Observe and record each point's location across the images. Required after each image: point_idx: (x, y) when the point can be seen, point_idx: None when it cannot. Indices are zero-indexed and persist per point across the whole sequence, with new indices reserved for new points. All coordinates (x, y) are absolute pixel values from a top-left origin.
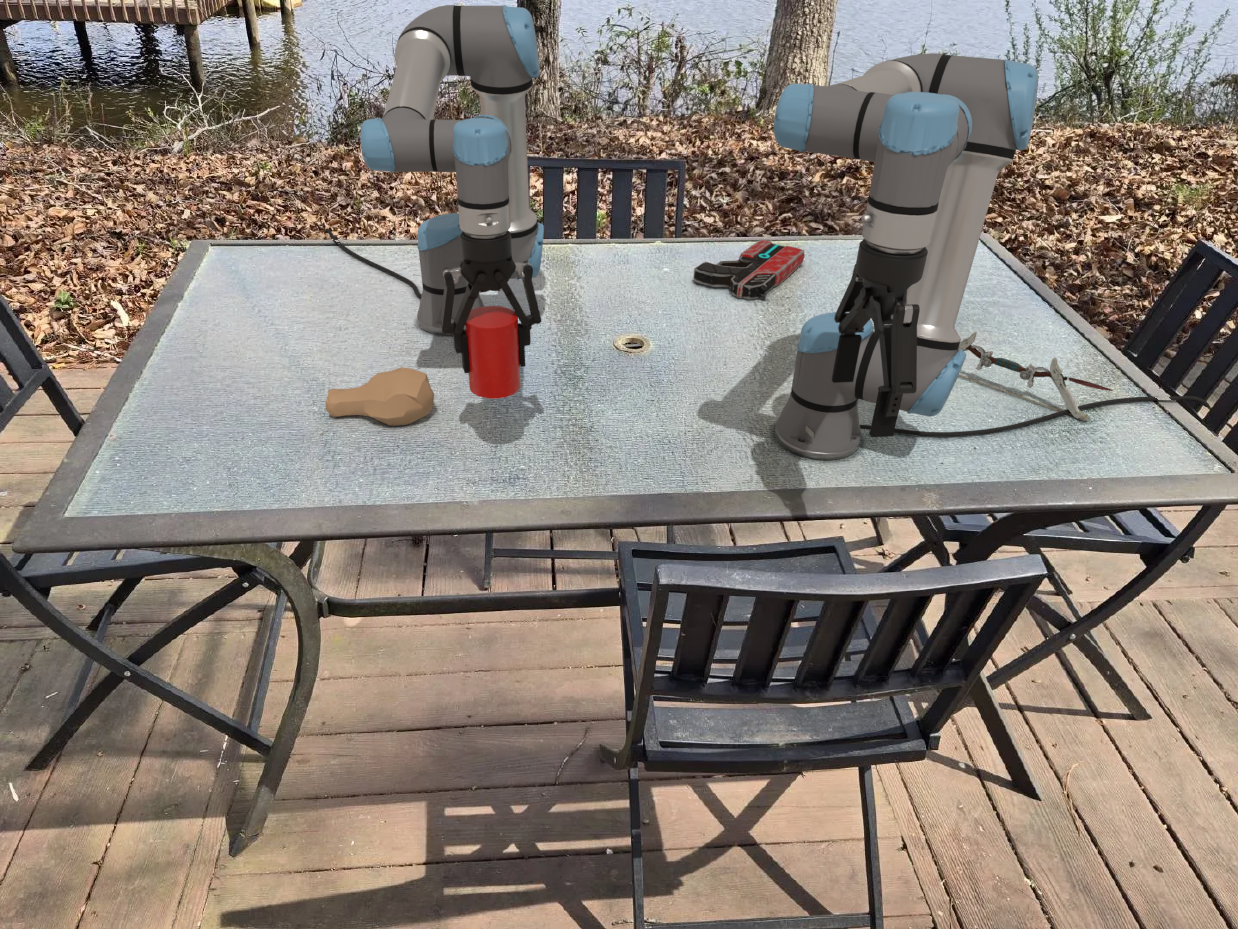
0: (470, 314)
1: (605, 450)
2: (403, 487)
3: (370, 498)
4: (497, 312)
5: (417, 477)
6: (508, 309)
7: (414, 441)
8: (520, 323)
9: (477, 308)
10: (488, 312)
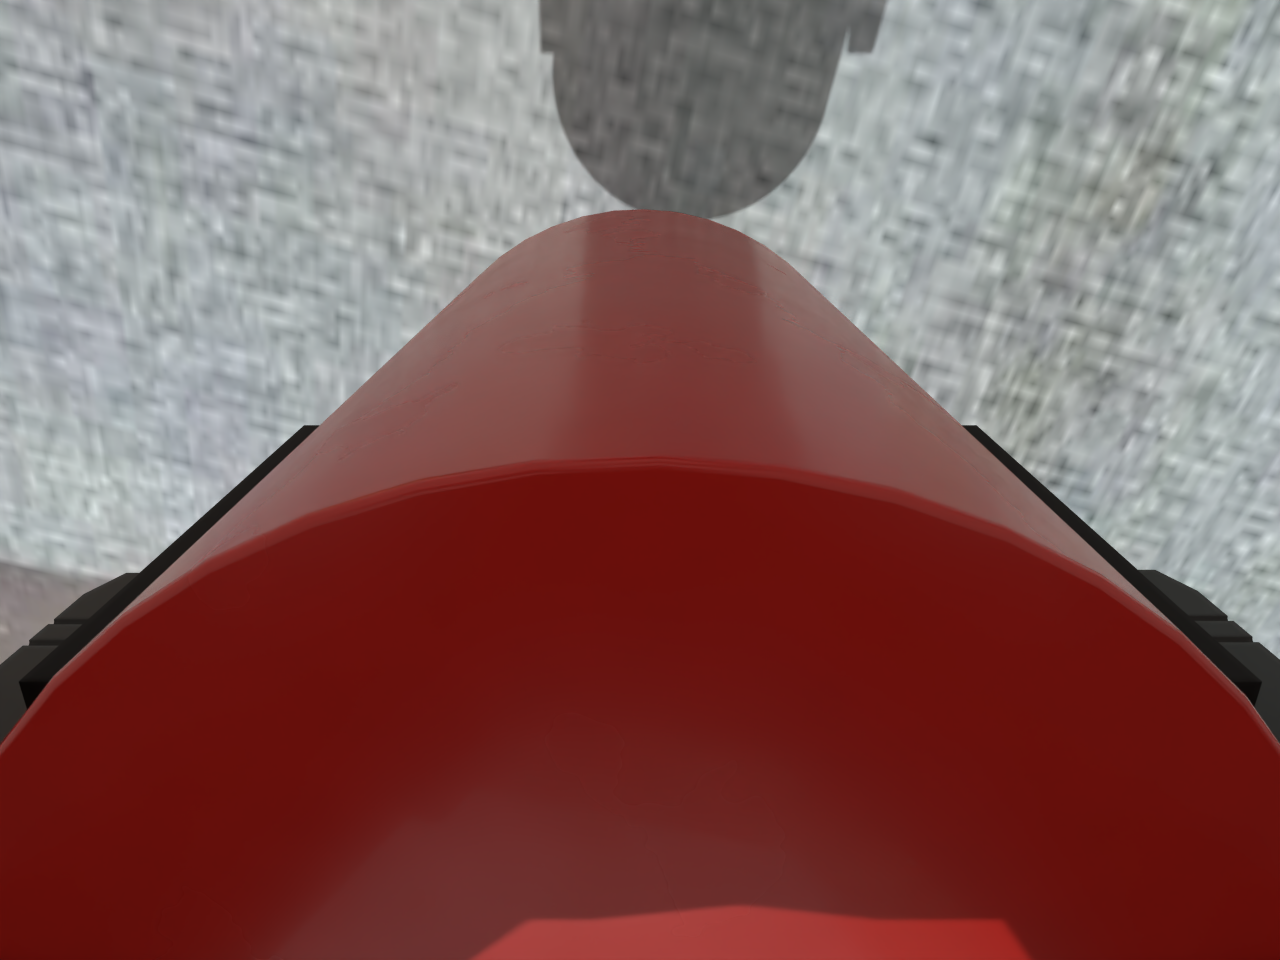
0: (97, 908)
1: (1164, 418)
2: (162, 479)
3: (23, 523)
4: (869, 941)
5: (221, 417)
6: (1244, 834)
7: (179, 51)
8: (1253, 698)
9: (311, 576)
10: (621, 898)
